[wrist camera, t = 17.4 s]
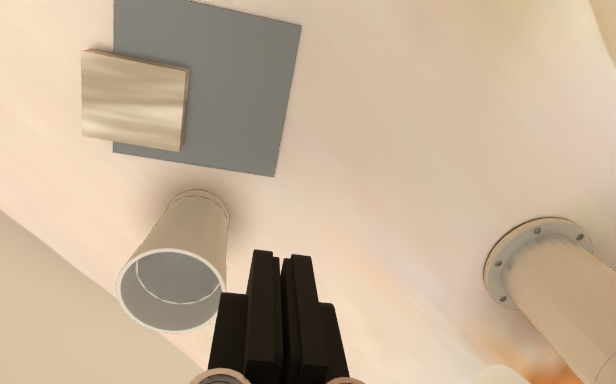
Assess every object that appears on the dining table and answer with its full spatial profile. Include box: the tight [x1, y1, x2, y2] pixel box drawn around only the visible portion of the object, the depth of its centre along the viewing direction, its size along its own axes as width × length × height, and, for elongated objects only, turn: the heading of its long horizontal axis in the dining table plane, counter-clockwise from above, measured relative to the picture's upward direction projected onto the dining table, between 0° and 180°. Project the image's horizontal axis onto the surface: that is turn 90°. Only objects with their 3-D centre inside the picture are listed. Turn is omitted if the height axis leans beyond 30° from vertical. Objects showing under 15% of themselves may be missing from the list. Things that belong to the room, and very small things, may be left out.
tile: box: [81, 49, 190, 152], centre depth 33 cm, size 2×8×7 cm
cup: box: [116, 190, 229, 334], centre depth 35 cm, size 8×8×12 cm
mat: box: [113, 0, 302, 177], centre depth 35 cm, size 15×14×1 cm
